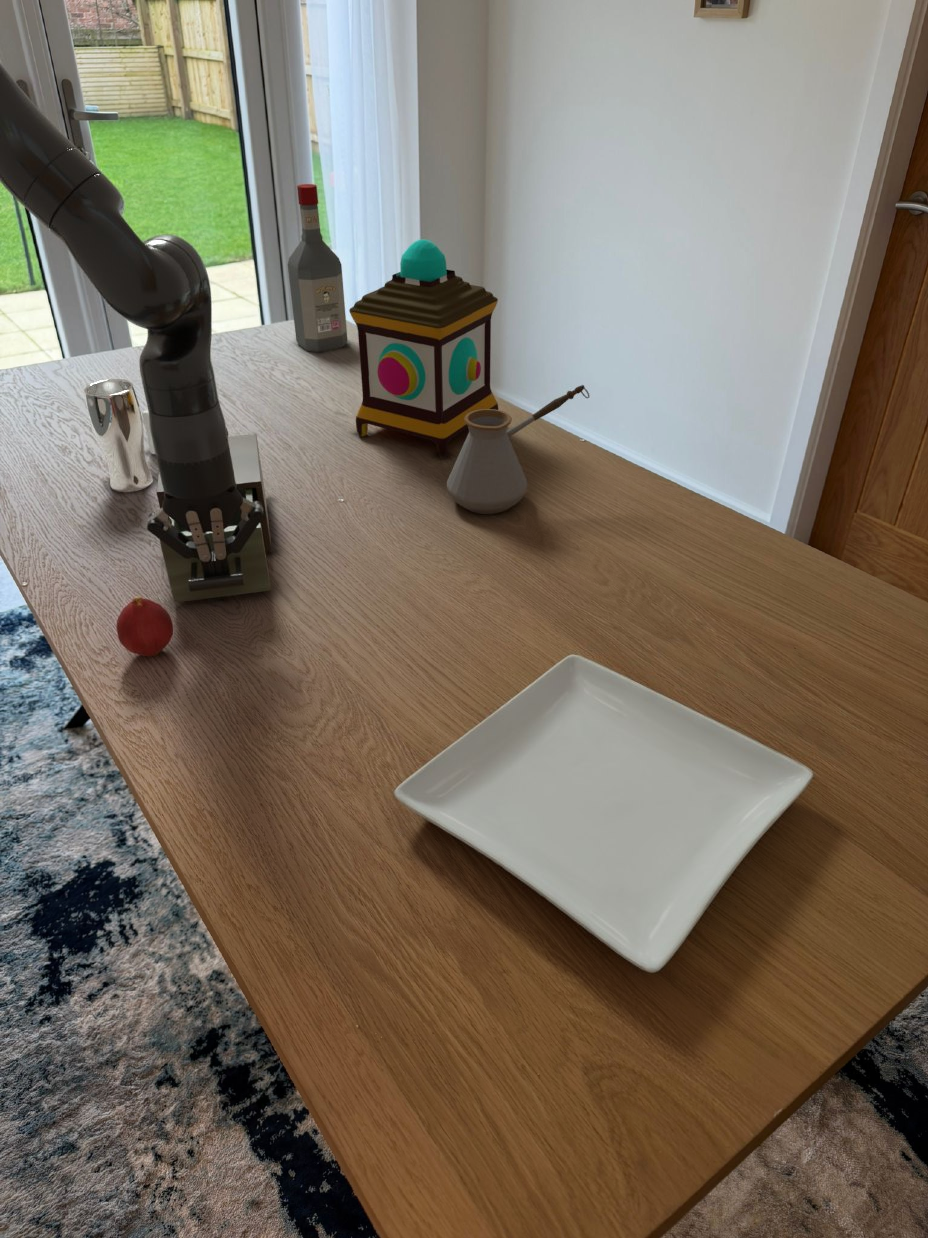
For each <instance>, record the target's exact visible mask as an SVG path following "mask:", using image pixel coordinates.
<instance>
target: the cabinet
mask: <svg viewBox="0 0 928 1238" xmlns="http://www.w3.org/2000/svg"><path fill="white" fill-rule="evenodd" d="M228 441H229V447H230V453H231V459H232V464H233V470H234V476H235V482H236V484H237V486H238V488H239V489H246V488H253V495H254V501H259V502H261V504H262V507H263V519H262V520H261V522H260V523H261V528H262V534H263V541H264V547H265V553H266V554H272V553H273V549H272V540H271V539H272V538H271V529H270V523H269V522H270V519H269V512H268V503H267V502H268V501H267V495H266V489H265V488H266V487H265V482H264V476H263V470H262V463H261V462H262V461H261V457H260V455H261V454H260V449H259V442H258V436H257V434H256V433H255V434H243V435H234V436H228ZM156 496H157V501H158V506H159V510H160V509H161V508H162V503H163V502H162V501H163V497H164V490H163V485H162V481H161V476H160V472H159V471H158V474H157V482H156Z"/></svg>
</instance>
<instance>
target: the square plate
mask: <svg viewBox="0 0 928 1238" xmlns="http://www.w3.org/2000/svg"><path fill="white" fill-rule="evenodd" d="M813 777H814V772H813V771H812V769H810V768H809V767H808V766H807V765H804V764H803V763H801V762H799V761H797V760H795V759H793V758H791V757H789V756H787V755H785V754H783V753H781V752H779V751H777V750H775V749H773V748H770V747H769V746H766V745H765V744H763V743H761V742H759V741H757V740H755V739H753V738H751V737H749V736H746V735H745V734H743V733H741V732H739V731H737V730H735V729H732V728H731V727H729V726H728V725H725V724H723V723H720V722H719V721H717V720H715V719H713V718H710V717H709V716H706V715H705V714H702V713H700V712H698V711H696V710H695V709H693V708H691V707H688V706H685V705H683V704H682V703H680V702H678V701H676V700H674V699H671V698H669V697H668V696H666V695H663V694H661V693H659V692H658V691H656V690H653V689H651V688H649V687H647V686H645V685H643V684H640V683H638V682H637V681H635V680H632V679H631V678H628V677H626V675H623V674H620V673H618V672H616V671H614V670H612V669H610V668H608V667H606V666H604V665H601V664H600V663H597V662H595V661H593V660H591V659H588V658H586V657H584V656H582V655H579V654H573V653H572V654H569V655H567V656H566V657H564V658H563V659H561V660H560V661H559V662H557V663H556V664H555V665H553V666H552V667H550V668H549V669H548V670H547V671H545V672H544V673H543V674H542V675H540V676H539V677H538V678H536V679H535V680H533V682H531V683H530V684H529V685H527V686H526V687H524V688H523V689H522V690H521V691H520V692H519V693H517V694H516V695H515V696H513V697H512V698H511V699H509V700H507V702H505V703H504V704H503V705H502V706H500V707H499V708H498V709H496V710H495V711H494V712H493V713H491V714H489V715H488V716H487V717H486V718H485V719H484V720H482V721H480V722H479V723H478V724H476V725H475V726H474V727H473V728H471V729H470V730H469V731H467V732H466V733H465V734H464V735H461V737H459V738H458V739H457V740H456V741H454V742H453V743H452V744H450V745H449V746H447V747H446V748H445V749H444V750H443V751H441V752H440V753H438V754H436V756H435V757H433V758H432V759H430V760H429V761H428V762H426V763H425V764H424V765H423V766H421V767H420V768H418V770H416V771H415V772H414V773H412V774H410V776H408V777H407V778H406V779H405V780H404V781H402V782H401V783H400V784H399V785H397V787H396V788H395V789H394V791H393V796H394V797H395V799H396V800H397V801H398V802H400V803H401V804H402V805H403V806H405V807H406V808H408V809H409V810H410V811H412V812H413V813H415V814H416V815H418V816H420V817H421V818H423V819H425V820H426V821H428V822H429V823H431V824H433V825H435V826H436V827H438V828H439V829H442V830H443V831H444V832H446V833H447V834H449V835H451V836H453V837H455V838H456V839H457V840H459V841H461V842H463V843H464V844H466V845H467V846H469V847H470V848H472V849H474V850H475V851H476V852H478V853H480V854H482V855H484V856H485V857H486V858H487V859H488V860H489V859H490V860H491V861H492V862H494V863H495V864H496V865H498V866H500V867H502V868H503V869H504V870H505V871H507V873H510V874H511V876H514V877H515V878H517V879H518V880H519V881H521V882H522V883H524V884H525V885H527V886H528V887H529V888H530V889H532V890H533V891H534V892H536V893H538V894H539V896H541V897H542V898H544V899H546V900H547V901H548V902H549V903H551V904H552V905H553V906H555V908H557V909H558V910H560V911H561V912H563V913H564V914H565V915H567V917H569V918H570V919H571V920H573V921H574V922H575V923H577V924H578V925H580V926H581V927H582V928H584V929H585V931H587V932H589V933H590V934H592V935H593V936H594V937H595V938H596V939H598V940H599V941H600V942H601V943H603V944H604V945H606V946H607V947H608V948H610V949H611V950H612V951H614V952H615V953H616V954H618V955H619V956H620V957H622V958H623V959H625V960H626V961H628V962H630V964H632V965H634V966H635V967H637V968H639V969H640V970H643V971H645V972H647V973H652V974H653V973H656V972H659V971H661V970H662V968H664V967H665V966H666V965H667V964H668V962H669V961H670V960H671V959H672V958H673V956H674V955H675V954H676V952H677V951H678V950H679V948H680V947H681V946H682V945H683V944H684V942H685V940H686V939H687V937H688V936H689V934H690V933H691V932H692V930H693V929H694V927H695V926H696V924H697V923H698V922H699V920H700V919H701V917H702V916H703V914H704V913H705V911H707V909H708V907H709V906H710V904H711V903H712V902H713V900H714V899H715V897H716V896H717V894H718V893H719V891H720V890H721V889H722V887H723V886H724V885H725V883H726V882H727V881H728V879H730V877H731V876H732V874H733V873H734V871H736V869H737V867H738V866H739V865H740V864H741V862H742V861H743V860H744V858H745V857H746V856H747V855H748V853H749V852H750V851H751V850H752V849H753V848H754V846H755V845H756V844H757V843H758V842H759V840H760V839H761V838H762V837H763V836H764V835H765V833H766V832H768V830H769V829H770V828H771V827H772V826H773V825H774V824H775V822H776V821H777V820H778V819H779V818H780V817H781V816H782V815H783V814H784V812H785V811H786V810H787V809H788V808H789V807H790V806H791V805H792V804H793V803H794V802H795V801H796V800H797V799H798V798H799V797H800V796H801V795H802V793H803V792H804V791H805V790H806V789H807V788H808V786H809V784H810V783H811V781H812V780H813Z"/></svg>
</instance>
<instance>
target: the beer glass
mask: <svg viewBox="0 0 928 1238" xmlns="http://www.w3.org/2000/svg"><path fill="white" fill-rule="evenodd" d="M83 392H84V395H85V396H84V397H85V401H86V402H85V403H86V408H87V413H88V417H89V421H90V424H91V428H92V430H93V434H94V435H95V438H96V440H97V442H98V445H99V446H100V449H101V451H102V453H103V455H104V457H105V459H106V462H107V465H108V471H109V485H110V488H111V489H112V490H113V491H115V492H119V493H131V492H133V493H134V492H137V491H141V490H144V489H146V488H148V487H150V486H151V485H152V484H153V481H154V478H153V475H152V473H151V471H150V469H149V466H148V464H147V459H146V454H145V436H144V435H145V434H144V421H143V416H142V410H141V407H140V402H139V400H138V396H137V394H136V390H135V387H134V383H133V382H132V381H130V380H128V379H124V378H123V379H122V378H109V379H104V380H103V379H102V380H98V381H95V382H92V383H90V384H88V385H86V386H85V388H84V389H83Z"/></svg>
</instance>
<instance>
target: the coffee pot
mask: <svg viewBox="0 0 928 1238" xmlns="http://www.w3.org/2000/svg"><path fill="white" fill-rule="evenodd" d="M583 390H584V391H585V393H586V394H587V395H585V393H584V392H583ZM580 393H581V395H582V396H583V397H584V398H585V399H589V398H590V393H589V391H588V389H586V387H585V385H584V384H581V385H579V386H577V387H575V388H574V389H573V390H568V391H567V392H566V394H564V395H562V396H560V397H558V398H554V399H553V400H552V401H550V402H549V403H547V404H546V405H545V406H543V407H542V408H540V409H539V410H537V411H536V412H535V413H532V415H531V416H529V417H528V418H526V419H524V420H522V421H521V422H518V424H516V425H514V426H512V427H511V428H509V429H508V426H509V425H511V423H512V417H511V415H510V414H509V413H507V412H506V411H503V410H500V409H498V410H495V409H481V410H475V411H472V412H470V413H468V414H467V415H466V416H465V418H464V421H465V423H466V424H467V425H468V427H467V428H468V433H467V436H466V438H465V441H464V442H463V444H462V447H461V450H460V451H459V453H458V456H457V458H456V460H455V463H454V465H453V468H452V469H451V472H450V474H449V476H448V478H447V480H446V489H447V491H448V494H449V495H450V497H451V498H452V499H453V500H454V501H455V502H456V504H458V505H459V506H461V507H463V508H464V509H465V510H466V511H469V512H473V513H476V514H484V515H493V514H498V513H502V512H505V511H507V510H508V509H510V508H512V507H513V506H515V505H516V504H517V503H519V502H520V501H521V500H522V499H523V498H524V496H525V494H526V493H527V489H528V482H527V481H528V480H527V478H526V475H525V473H524V471H523V468H522V466H521V464H520V461H519V459H518V456H517V454H516V452H515V449H514V447H513V445H512V442H511V440H510V438H511V437H512V436H513V435H515V434H517V433H518V432H519V431H521V430H523V429H524V428H525V427H527V426H529V425H530V424H531V423H533V422H536V421H537V420H539V419H541V418H543V417H544V416H546V415H548V414H550V413H552V412H555V410H558V409H559V408H560V407H561V406H562V405H564V404H565V403H566V402H567V401H568V400H573V399H574V398H575V396H576V395H577V394H580Z"/></svg>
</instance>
